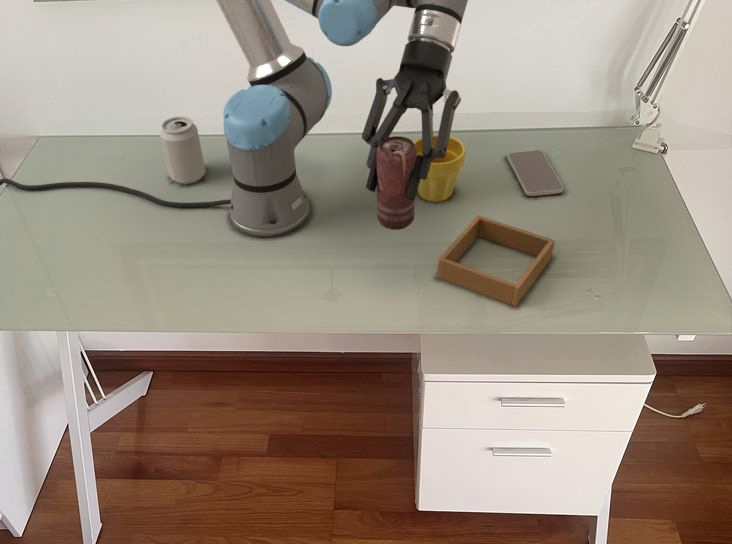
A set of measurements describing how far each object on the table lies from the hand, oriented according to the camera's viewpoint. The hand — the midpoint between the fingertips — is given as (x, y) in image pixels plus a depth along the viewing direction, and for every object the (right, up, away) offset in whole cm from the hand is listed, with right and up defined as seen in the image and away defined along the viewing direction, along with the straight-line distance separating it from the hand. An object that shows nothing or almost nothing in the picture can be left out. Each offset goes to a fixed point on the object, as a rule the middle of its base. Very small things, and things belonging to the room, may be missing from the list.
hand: (390, 193), depth 119 cm
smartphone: (+31, +10, +32) cm, 46 cm away
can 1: (-39, +11, +38) cm, 56 cm away
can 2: (+1, -3, +7) cm, 7 cm away
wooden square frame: (+19, -10, +13) cm, 25 cm away
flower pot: (+11, +6, +30) cm, 32 cm away
